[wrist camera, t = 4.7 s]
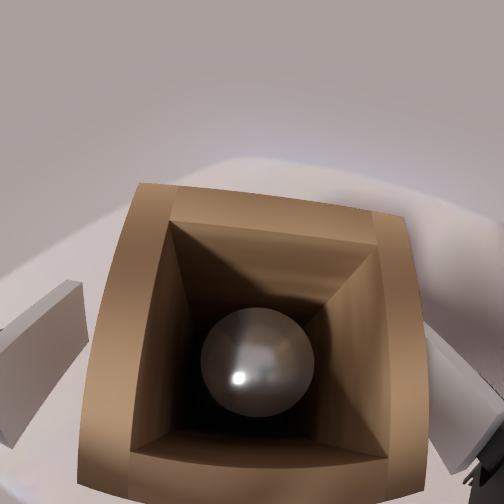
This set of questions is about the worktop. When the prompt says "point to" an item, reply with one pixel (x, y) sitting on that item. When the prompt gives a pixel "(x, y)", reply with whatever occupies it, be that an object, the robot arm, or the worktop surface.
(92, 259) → the worktop surface
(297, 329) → the post stand
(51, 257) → the worktop surface
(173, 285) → the sleeve
